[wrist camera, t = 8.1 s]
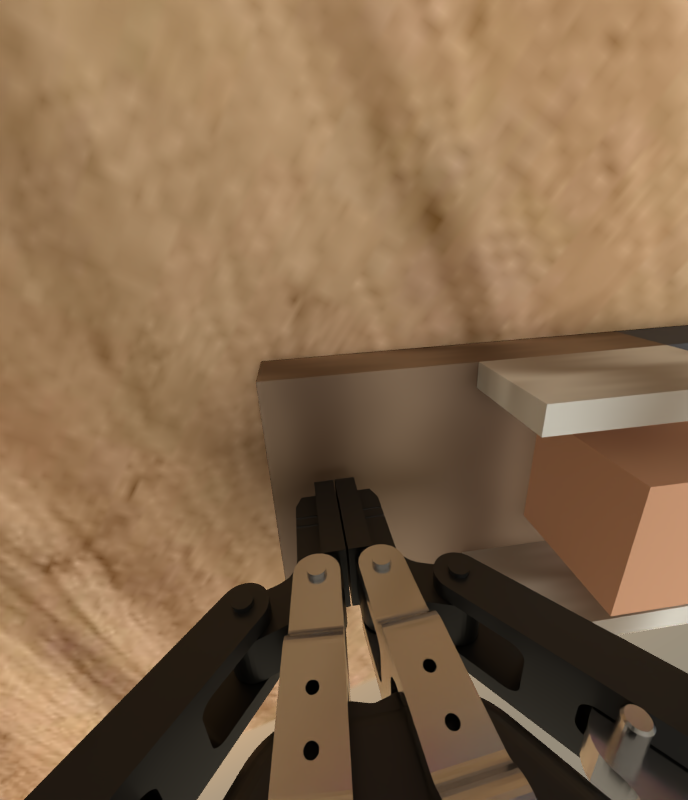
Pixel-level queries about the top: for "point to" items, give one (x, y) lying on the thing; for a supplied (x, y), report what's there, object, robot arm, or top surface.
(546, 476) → the terracotta block
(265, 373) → the walnut platform
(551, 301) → the top surface
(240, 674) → the robot arm
